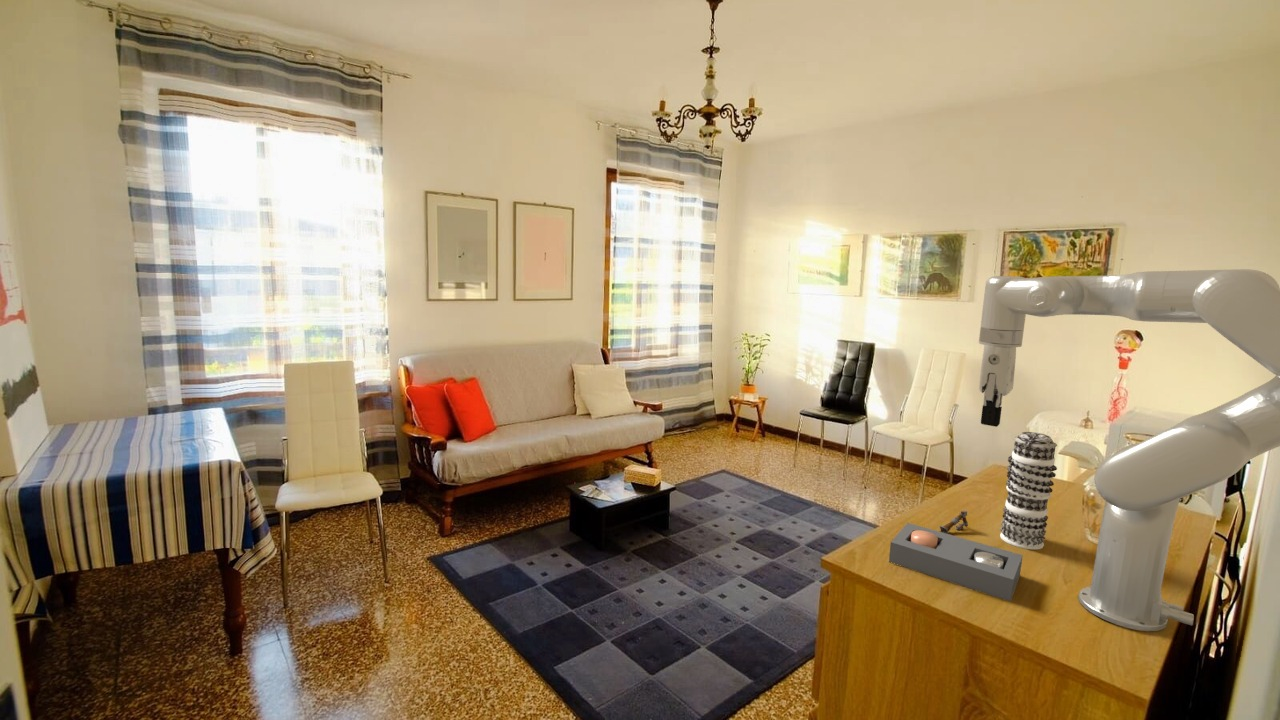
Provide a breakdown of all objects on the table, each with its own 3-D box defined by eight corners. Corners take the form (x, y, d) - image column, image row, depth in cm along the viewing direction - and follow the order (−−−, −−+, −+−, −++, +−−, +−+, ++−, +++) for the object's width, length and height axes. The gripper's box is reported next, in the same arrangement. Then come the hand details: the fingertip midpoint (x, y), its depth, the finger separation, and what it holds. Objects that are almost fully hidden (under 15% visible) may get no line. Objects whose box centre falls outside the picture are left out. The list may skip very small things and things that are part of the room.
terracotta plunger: (938, 552, 126) (940, 535, 125) (932, 561, 122) (934, 543, 121) (913, 545, 129) (915, 528, 128) (906, 553, 125) (908, 536, 124)
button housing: (1019, 575, 119) (1022, 555, 119) (1010, 601, 110) (1013, 579, 109) (905, 541, 133) (907, 522, 132) (888, 561, 124) (890, 542, 123)
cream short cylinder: (1003, 575, 118) (1005, 557, 118) (998, 586, 114) (1001, 567, 114) (974, 567, 121) (977, 549, 121) (969, 577, 118) (972, 558, 117)
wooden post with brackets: (972, 525, 140) (969, 510, 139) (949, 543, 138) (946, 528, 136) (966, 522, 142) (962, 507, 140) (943, 540, 139) (939, 525, 138)
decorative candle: (1006, 547, 131) (1020, 439, 127) (992, 529, 140) (1005, 427, 135) (1052, 553, 129) (1069, 443, 124) (1035, 533, 138) (1050, 430, 133)
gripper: (1016, 343, 112) (1004, 436, 115) (1027, 335, 123) (1016, 420, 126) (972, 339, 116) (961, 428, 120) (986, 332, 128) (976, 414, 131)
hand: (989, 424), depth 123 cm, fingers closed
